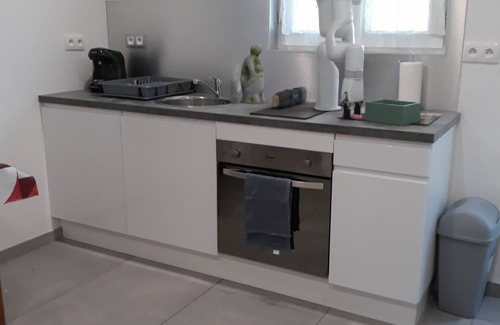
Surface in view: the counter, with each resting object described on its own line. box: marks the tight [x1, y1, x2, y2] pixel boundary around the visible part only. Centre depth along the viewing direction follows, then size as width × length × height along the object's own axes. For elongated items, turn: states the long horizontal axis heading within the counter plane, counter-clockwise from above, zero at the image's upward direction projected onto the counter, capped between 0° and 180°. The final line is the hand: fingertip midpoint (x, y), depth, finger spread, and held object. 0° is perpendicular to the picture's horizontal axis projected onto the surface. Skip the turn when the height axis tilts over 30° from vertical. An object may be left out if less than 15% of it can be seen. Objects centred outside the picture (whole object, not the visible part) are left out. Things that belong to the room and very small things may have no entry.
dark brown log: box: [271, 86, 308, 109], centre depth 258 cm, size 11×7×30 cm
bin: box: [364, 98, 422, 127], centre depth 215 cm, size 18×14×8 cm
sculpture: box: [239, 42, 266, 105], centre depth 271 cm, size 11×14×30 cm
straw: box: [341, 113, 363, 121], centre depth 222 cm, size 10×2×2 cm, turn 44°
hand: (351, 117), depth 222 cm, fingers open, 6 cm apart
